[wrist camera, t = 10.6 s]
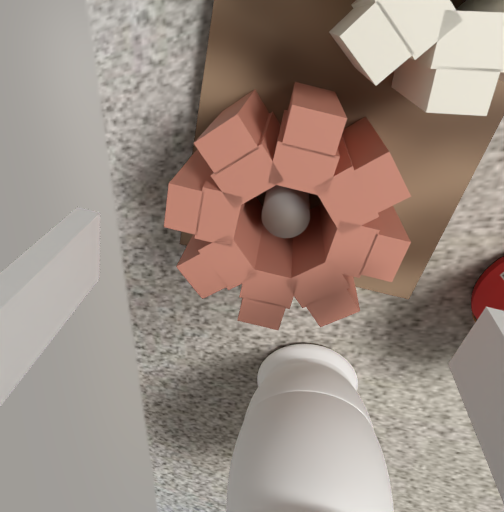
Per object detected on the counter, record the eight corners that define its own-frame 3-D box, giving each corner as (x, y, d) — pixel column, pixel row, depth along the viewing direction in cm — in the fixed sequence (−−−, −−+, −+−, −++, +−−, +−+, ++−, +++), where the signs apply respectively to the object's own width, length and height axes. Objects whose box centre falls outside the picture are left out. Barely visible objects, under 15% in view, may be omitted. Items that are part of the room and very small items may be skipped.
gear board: (259, -273, 17) (237, -422, 11) (634, -176, 17) (798, -273, 11) (185, 234, 29) (156, 285, 23) (404, 287, 29) (428, 350, 23)
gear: (214, 61, 22) (180, 77, 16) (414, 111, 22) (457, 145, 16) (187, 239, 27) (155, 300, 21) (347, 277, 27) (359, 349, 21)
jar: (224, 350, 34) (176, 552, 21) (344, 315, 31) (374, 526, 18) (276, 431, 38) (263, 639, 25) (385, 407, 35) (434, 630, 22)
